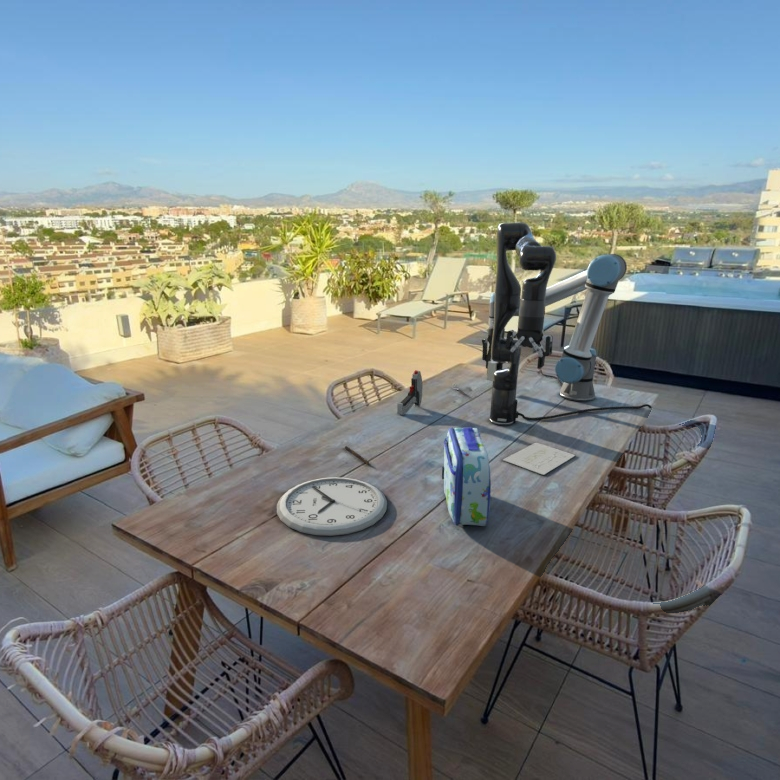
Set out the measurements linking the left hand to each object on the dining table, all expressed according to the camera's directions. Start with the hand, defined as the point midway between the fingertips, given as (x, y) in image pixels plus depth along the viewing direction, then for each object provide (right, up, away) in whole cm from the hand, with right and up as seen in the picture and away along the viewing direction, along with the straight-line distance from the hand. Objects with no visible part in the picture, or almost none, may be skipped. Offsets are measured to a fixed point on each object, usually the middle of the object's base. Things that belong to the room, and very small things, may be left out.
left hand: (526, 365), depth 163 cm
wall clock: (-58, -39, -20) cm, 73 cm away
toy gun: (-34, -16, +54) cm, 66 cm away
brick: (+6, -3, +84) cm, 84 cm away
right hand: (+6, -1, +83) cm, 84 cm away
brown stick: (-54, -30, +10) cm, 62 cm away
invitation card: (+7, -30, +11) cm, 33 cm away
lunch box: (-23, -40, -20) cm, 50 cm away
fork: (-10, -8, +80) cm, 81 cm away
